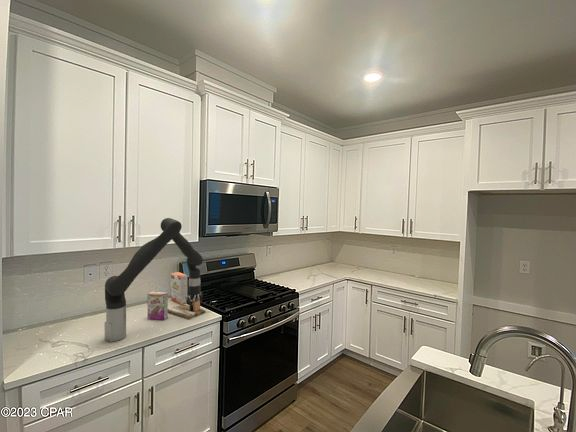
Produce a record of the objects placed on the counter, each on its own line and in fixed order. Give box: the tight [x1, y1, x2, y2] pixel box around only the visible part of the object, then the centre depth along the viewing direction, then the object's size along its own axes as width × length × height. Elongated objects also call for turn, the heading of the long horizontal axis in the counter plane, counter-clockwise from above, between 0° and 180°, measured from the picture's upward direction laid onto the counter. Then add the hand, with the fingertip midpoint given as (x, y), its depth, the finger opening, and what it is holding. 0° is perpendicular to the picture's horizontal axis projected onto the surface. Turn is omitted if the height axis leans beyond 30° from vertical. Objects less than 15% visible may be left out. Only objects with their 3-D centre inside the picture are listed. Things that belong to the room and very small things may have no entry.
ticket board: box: [168, 303, 206, 321], centre depth 192 cm, size 14×22×3 cm, turn 60°
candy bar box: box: [147, 291, 169, 321], centre depth 181 cm, size 11×5×16 cm, turn 84°
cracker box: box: [170, 271, 188, 305], centre depth 212 cm, size 14×6×21 cm, turn 49°
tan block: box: [188, 300, 201, 311], centre depth 193 cm, size 4×6×6 cm, turn 61°
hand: (194, 309), depth 193 cm, fingers closed on tan block, 4 cm apart
